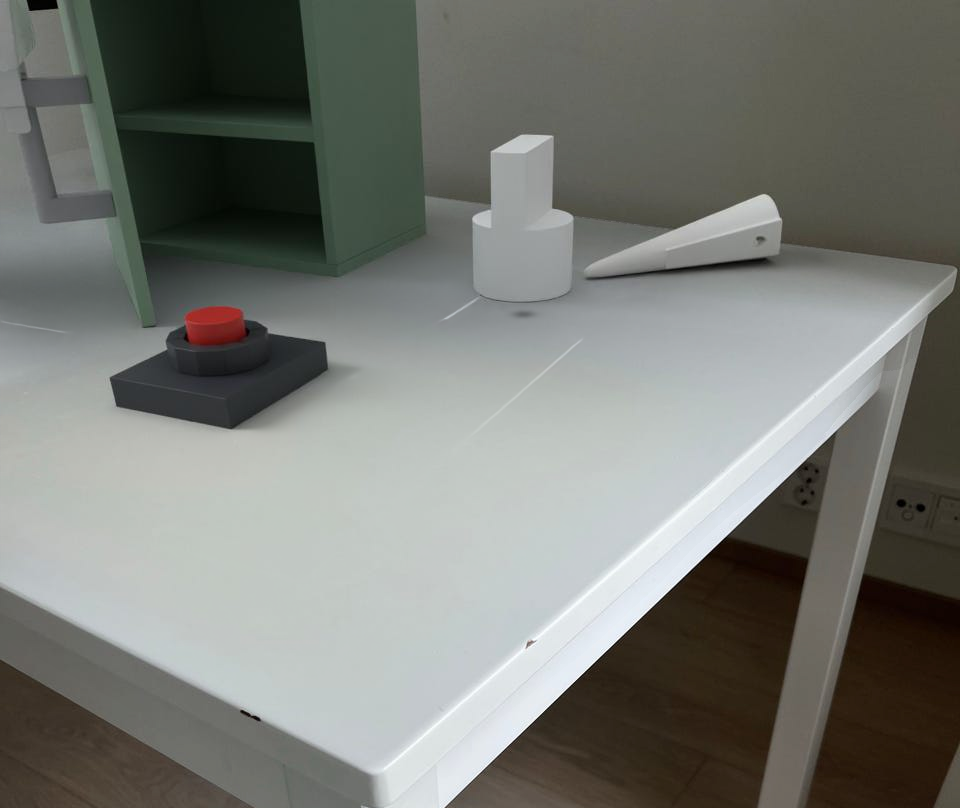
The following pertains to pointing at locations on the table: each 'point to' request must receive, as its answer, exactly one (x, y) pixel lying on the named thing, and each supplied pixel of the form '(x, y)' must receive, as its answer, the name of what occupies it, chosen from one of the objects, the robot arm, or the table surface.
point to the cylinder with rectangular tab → (522, 227)
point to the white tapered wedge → (703, 242)
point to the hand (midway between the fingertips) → (22, 129)
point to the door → (104, 148)
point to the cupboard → (268, 128)
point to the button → (215, 325)
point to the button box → (220, 376)
